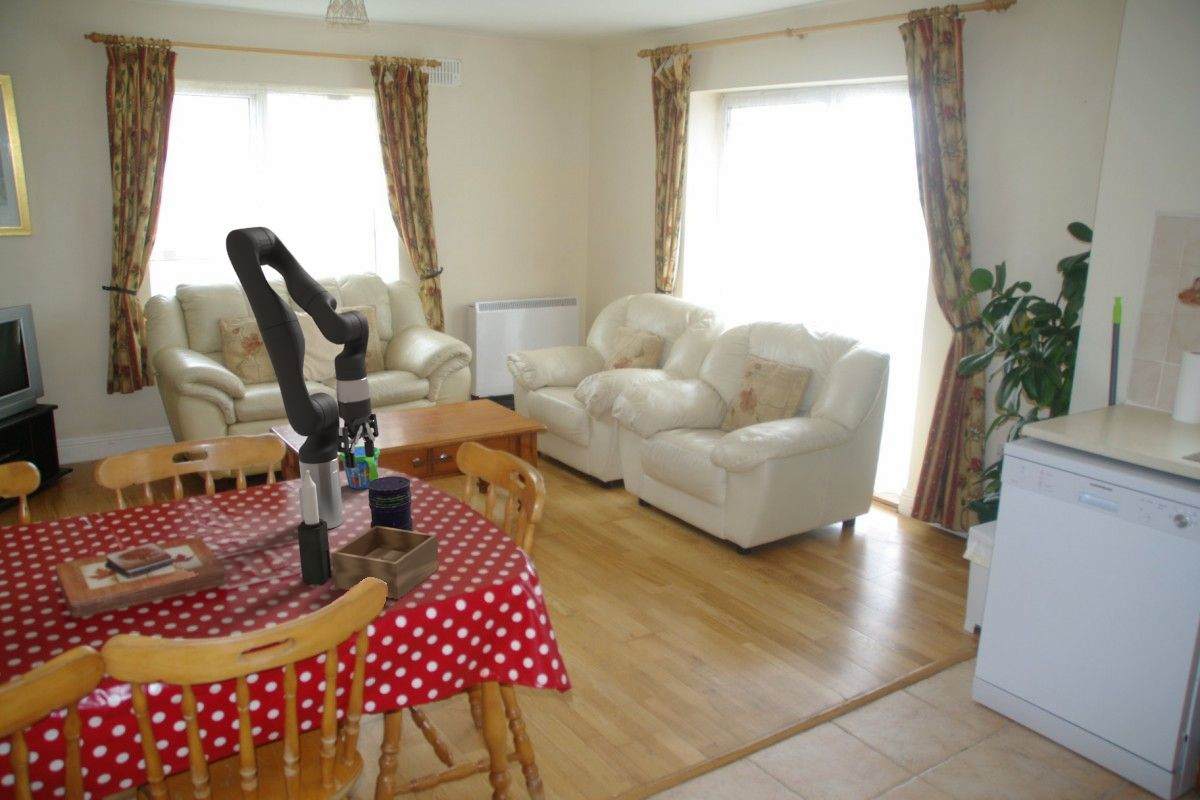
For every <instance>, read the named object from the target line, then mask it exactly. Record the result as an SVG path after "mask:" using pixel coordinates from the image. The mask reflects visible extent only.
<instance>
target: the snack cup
mask: <svg viewBox="0 0 1200 800" xmlns="http://www.w3.org/2000/svg"><path fill="white" fill-rule="evenodd" d="M374 450H375V456H374V457H366V455H365V447H364V445H360V446H355V449H354V452H353V453H354V454H355V463H356V467H355V468H347V467H346V464H345V455H344V453H340V452H339V458H340V459H341V461H342V463H343V468H344V473H345V477H346V480H347V483H348V486H349V487H350V488H352V489H354V490H363V489H368V484H369V482H371V481H372V480H375V479H378V477H379V472H378V463H379V461H378V460H379V457H380V454H381V451H380V450H379V448H378V447H376V446H374Z"/></svg>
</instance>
